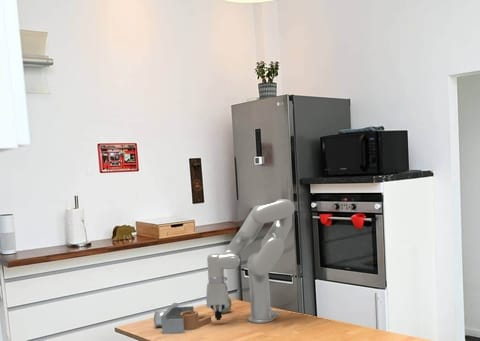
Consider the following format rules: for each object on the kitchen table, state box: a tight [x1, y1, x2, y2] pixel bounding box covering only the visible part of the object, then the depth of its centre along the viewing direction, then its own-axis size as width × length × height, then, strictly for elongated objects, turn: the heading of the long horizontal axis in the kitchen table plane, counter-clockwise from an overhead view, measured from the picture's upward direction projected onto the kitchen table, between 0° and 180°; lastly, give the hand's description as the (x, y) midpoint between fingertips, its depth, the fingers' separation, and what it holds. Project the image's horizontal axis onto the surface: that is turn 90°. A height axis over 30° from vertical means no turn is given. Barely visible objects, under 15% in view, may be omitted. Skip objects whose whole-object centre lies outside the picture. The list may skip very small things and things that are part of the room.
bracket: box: [180, 310, 212, 331], centre depth 228 cm, size 18×8×7 cm, turn 147°
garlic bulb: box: [217, 295, 232, 314], centre depth 247 cm, size 9×8×10 cm
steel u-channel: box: [153, 302, 195, 335], centre depth 228 cm, size 16×24×8 cm, turn 175°
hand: (218, 319), depth 226 cm, fingers closed
